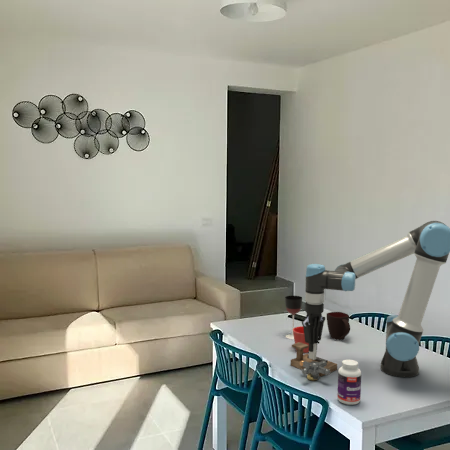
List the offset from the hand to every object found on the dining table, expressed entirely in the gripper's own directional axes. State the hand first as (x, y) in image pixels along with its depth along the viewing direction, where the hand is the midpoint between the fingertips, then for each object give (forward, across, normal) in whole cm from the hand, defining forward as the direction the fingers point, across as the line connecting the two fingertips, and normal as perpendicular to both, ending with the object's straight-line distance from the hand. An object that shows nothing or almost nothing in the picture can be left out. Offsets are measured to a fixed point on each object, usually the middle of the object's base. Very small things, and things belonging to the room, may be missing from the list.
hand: (312, 358), depth 208 cm
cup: (+6, -44, -17) cm, 47 cm away
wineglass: (+6, -30, -35) cm, 46 cm away
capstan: (+6, +5, +5) cm, 9 cm away
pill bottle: (+6, +11, +25) cm, 28 cm away
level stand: (+6, -5, -3) cm, 8 cm away
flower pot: (+6, -19, -19) cm, 27 cm away
